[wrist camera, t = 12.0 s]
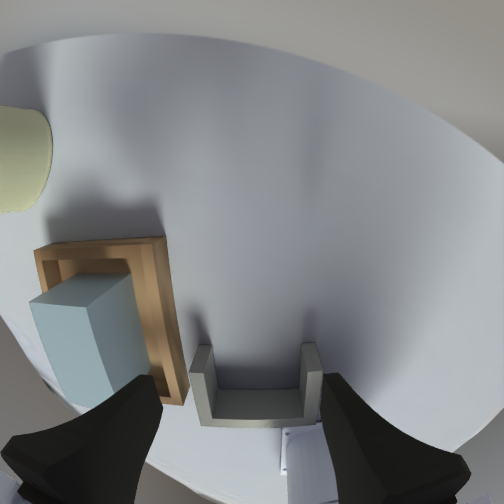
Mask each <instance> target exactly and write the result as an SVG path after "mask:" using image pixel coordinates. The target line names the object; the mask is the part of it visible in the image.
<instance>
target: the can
mask: <svg viewBox="0 0 504 504" xmlns="http://www.w3.org/2000/svg"><path fill="white" fill-rule="evenodd" d="M52 146H53V145H52V135H51V130H50V126H49V124H48V122H47V119H46V118H45V117H44V115H43V114H42V113H40V112H39V111H37V110H34V109H20V108H14V107H8V106H2V105H0V214H1V213H6V212H12V211H15V212H20V211H24V210H26V209H28V208H29V207H31V206H32V205H33V204H34V203H35V202H36V201H37V199H38V198H39V196H40V195H41V193H42V191H43V189H44V187H45V184H46V182H47V179H48V175H49V172H50V167H51V161H52Z"/></svg>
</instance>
